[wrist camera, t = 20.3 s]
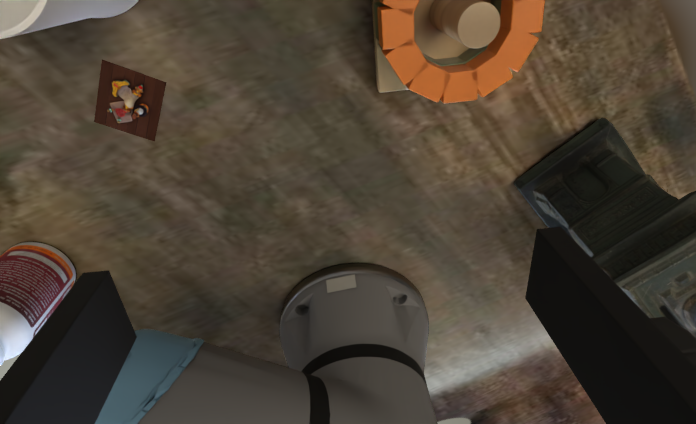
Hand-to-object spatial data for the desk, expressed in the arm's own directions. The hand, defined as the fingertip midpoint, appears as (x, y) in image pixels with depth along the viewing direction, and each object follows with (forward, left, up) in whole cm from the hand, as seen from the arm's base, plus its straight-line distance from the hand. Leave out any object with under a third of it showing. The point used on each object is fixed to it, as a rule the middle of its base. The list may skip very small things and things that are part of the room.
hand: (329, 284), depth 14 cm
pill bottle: (-13, +28, -23) cm, 39 cm away
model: (-12, -23, -23) cm, 35 cm away
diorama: (+1, +15, -23) cm, 28 cm away
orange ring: (+5, -9, -20) cm, 22 cm away
